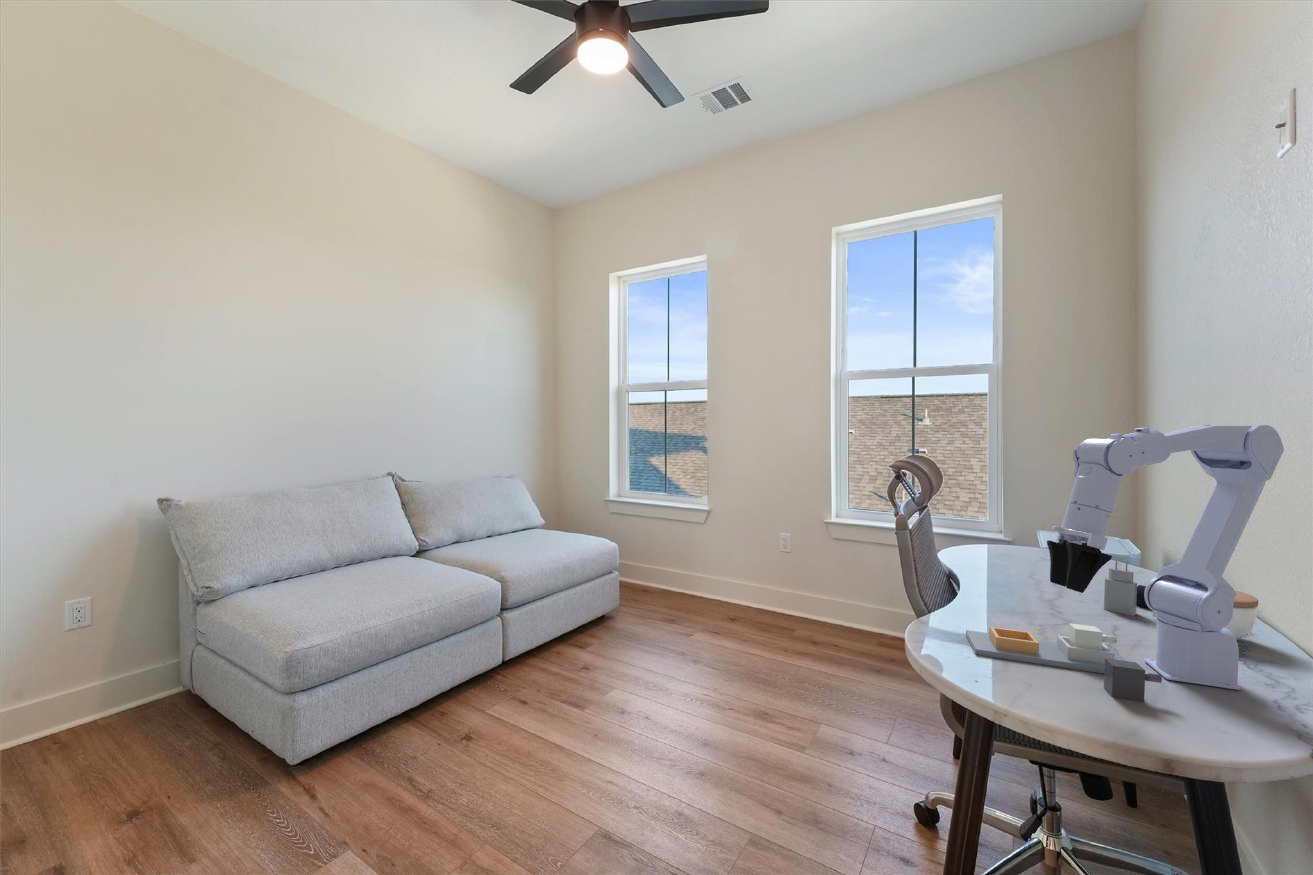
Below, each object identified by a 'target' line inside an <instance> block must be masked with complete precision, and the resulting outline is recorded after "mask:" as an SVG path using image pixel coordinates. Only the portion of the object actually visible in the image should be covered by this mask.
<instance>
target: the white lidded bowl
mask: <svg viewBox="0 0 1313 875" xmlns="http://www.w3.org/2000/svg"><path fill="white" fill-rule="evenodd" d="M1234 591H1235V592H1236V593H1237V595H1236V597H1235V600H1234V604H1233V617H1232V619H1231V621H1230V622H1229V624H1228V625H1226V626H1225V627H1224V628H1226V629H1228V630H1230V631H1231V632H1232V633H1233V635H1234V636H1235V638H1236V640H1237V641H1238V640H1240V639H1243V637H1246V636H1247V635H1248V634H1249V633H1251V631H1252V629H1253V628H1254V626H1255V623H1256V620H1257V612H1258V606H1259V599H1258V598H1257V597H1255V596H1254V595H1251V594H1248V593H1246V592H1241V591H1239V590H1235V589H1234Z"/></svg>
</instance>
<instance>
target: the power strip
mask: <svg viewBox="0 0 1313 875" xmlns="http://www.w3.org/2000/svg"><path fill="white" fill-rule="evenodd" d="M965 636H966V638H967V640H968V641H969V644H970V647H971V649H972V648H973V649H972V651H973V650H974V651H973V652H974V654H979V655H978V656H982V655H983V656H984V657H989V656H990V658H996V659H1004V660H1010V661H1016V662H1017V661H1018V662H1023V663H1032V664H1036V665H1045V666H1051V667H1057V668H1058V667H1059V668H1064V669H1072V670H1077V671H1083V672H1092V673H1096V674H1097V673H1098V674H1104V671H1105V658H1108V659H1115V660H1122V661H1126V659H1125V658H1123V657H1122V656H1121V655H1120V654H1119V653H1118V652H1117V651H1115V650H1114V649H1110V648H1109V647H1108V646H1107V645H1106V644H1105V643H1111V644H1117V639H1118V638H1117V636H1116V635H1108V634H1103V631H1101V630H1100V629H1099V628H1098V627H1097V626H1094V625H1087V624H1078V623H1071V622H1070V623H1068V636H1063V635H1056V641H1050V640H1044V639H1037V638H1035V636H1034V634H1033V633H1032V632H1031V631H1026V630H1025V631H1024V630H1017V629H1010V628H1003V627H995V626H989V632H983V631H982V632H981V631H975V630H968V629H967V630H966V631H965Z"/></svg>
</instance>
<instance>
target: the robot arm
mask: <svg viewBox="0 0 1313 875" xmlns="http://www.w3.org/2000/svg"><path fill="white" fill-rule="evenodd" d="M1186 451H1190V453H1191V455H1192V456H1193V458H1194V459H1195V460H1196V462H1197V463H1198V464H1199V466H1200V467H1201V469H1202V470H1203V471H1204V473H1205V474H1206V475H1208V476H1209V477H1211V478H1213V479H1215V481H1216V484H1215V486H1214V489H1213V492H1212V493H1211V495H1210V497H1209V500H1208V502H1207V504H1206V506H1205V508H1204V510H1203V512H1202V515H1201V516H1200V517H1199V518H1200V519H1199V521H1198V523H1197V525H1196V527H1195V529H1194V531H1193V533H1192V535H1191V538H1190V539H1189V541H1188V544H1187V546H1186V548H1185V550H1184V552H1183V554H1182V557H1181V558H1180V561H1178V562H1176V563H1173V564H1169V565H1166V566H1163V567H1161V568H1159V570H1158V572H1157V574H1156V575H1155V577H1154V578H1152V579H1151V580H1150V581H1149V582H1148V584H1146V585H1145V586H1146V588H1145V592H1144V598H1145V602H1146V604H1147V606H1148V607H1149V608H1148V609H1150V610H1152V617H1155V618H1157V619H1156V636H1155V641H1156V642H1155V659H1152V658H1144V659H1143V660H1144V662H1145V663H1147V664H1148V665H1149V666H1150V667H1151V668H1152V669H1154V670H1155V672H1157V673H1158V674H1159V675H1161V677H1163V678H1164V679H1166V680H1169V681H1176V682H1183V683H1189V684H1194V685H1203V686H1209V687H1216V688H1217V687H1218V688H1224V689H1229V690H1236V691H1237V690H1238V691H1239V690H1241V686H1240V685H1238V683H1239V682H1238V680H1239V679H1238V678H1239V657H1240V656H1239V655H1240V654H1239V653H1240V652H1239V650H1240V649H1239V645H1238V639H1237V640H1236V638H1235V636H1234V635H1233V633H1232V632H1231V631H1230V630H1228V629H1226V628H1224V627H1225V626H1226V625H1228V624H1229V622H1230V621H1231V619H1232V617H1233V604H1234V600H1235V597H1236V595H1237V593H1236V592H1235V591H1236V590H1235V589H1234V588H1233V586H1232V585H1231V584H1229V582H1228V581H1227V580H1226V579H1225V578H1224V577H1223V575H1224V574H1225V570H1226V569H1227V566H1228V564H1229V562H1230V561H1231V558H1232V556H1233V554H1234V552H1235V549H1236V547H1237V546H1238V543H1239V541H1240V538H1241V536H1242V535H1243V532H1244V530H1245V528H1246V526H1247V524H1248V522H1249V521H1250V520H1249V519H1250V517H1251V515H1252V514H1253V511H1254V510H1255V506H1256V505H1257V503H1258V501H1259V498H1260V496H1261V494H1262V493H1263V490H1264V488H1265V485H1266V482H1267V481H1269V480H1271V479H1272V477H1273V474H1274V473H1275V470H1276V469H1277V466H1278V463H1279V462H1280V460H1281V457H1282V456H1283V453H1284V452H1285V448H1284V444H1283V442H1282V439H1281V436H1280V434H1279V432H1278V431H1277V430H1276V429H1275V428H1274V427H1273V426H1271V425H1268V424H1258V425H1211V424H1201V425H1191V426H1188V427H1185V428H1181V429H1176V430H1173V431H1169V432H1166V433H1163V432H1160V431H1158V430H1154V429H1150V427H1136V428H1134V429H1133V432H1130V433H1126V434H1123V433H1117V432H1116V433H1112V434H1110V436H1109V437H1107V438H1087V439H1085V440H1083V442H1081V443H1080V444H1079V445H1078V446H1077V448H1076V449H1073V451H1072V452H1073V453H1072V459H1073V462H1074V470H1073V471H1074V472H1073V475H1074V478H1075V479H1074V481H1073V482H1074V483H1073V486H1072V489H1071V493H1070V495H1069V499H1068V503H1067V506H1066V510H1065V513H1064V516H1063V519H1062V522H1061V526H1056V525H1052V526H1051V528H1050V529H1051V530H1052V531H1055V532H1057V533H1058V535H1057V537H1056V541H1052V540H1048V539H1047V541H1046V545H1047V547H1048V548H1047V549H1048V552H1049V558H1050V560H1049V561H1050V566H1049V567H1050V568H1049V570H1050V571H1049V580H1050V583H1052V584H1055V585H1058V586H1061V587H1064V588H1066V589H1069V590H1072V591H1075V592H1078V593H1081V594H1083V593H1085V591H1086V589H1087V588H1088V587H1089V585H1090V583H1091V581H1092V580H1093V579H1094V578H1095V576H1096V574H1098V572H1099V570H1100V569H1101V568H1102V567H1104V565H1106V564H1107V563H1108V562H1109V561H1111V560H1112V558H1113V555H1111V554H1107V553H1104V552H1102V551H1104V550H1105V549H1106V546H1107V542H1108V539H1109V538H1108V537H1106V534H1107V529H1108V526H1109V524H1110V520H1111V518H1112V513H1113V509H1114V507H1115V503H1116V499H1117V497H1118V494H1119V490H1120V487H1121V483H1122V480H1123V477H1124V475H1125V476H1126V475H1127V476H1129V475H1130V474H1132V473H1133V472H1134V471H1135V470H1136V468H1140V467H1145V466H1151V465H1155V464H1160V463H1163V462H1165V461H1166V460H1168V458H1170V456H1171V454H1173V453H1179V452H1180V453H1181V452H1186ZM1234 590H1235V591H1234Z"/></svg>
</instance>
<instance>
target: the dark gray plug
mask: <svg viewBox="0 0 1313 875" xmlns="http://www.w3.org/2000/svg"><path fill="white" fill-rule="evenodd" d="M1103 674H1104V676H1103V690H1105V691H1106V692H1107V694H1108V695H1109V696H1110V697H1111V698H1114V699H1120V700H1127V701H1134V702H1139V703H1145V687H1146V682H1152V683H1157V684H1162V681H1163V680H1162V679H1163V678H1162V675H1161V674H1160V673H1158V674H1157V673H1150V672H1146V670H1145V668H1143V667H1142V666H1141V665H1140V664H1139V663H1137V662H1136V661H1128V660H1125V661H1122V660H1115V659H1108V658H1105V671H1104V673H1103Z"/></svg>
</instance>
